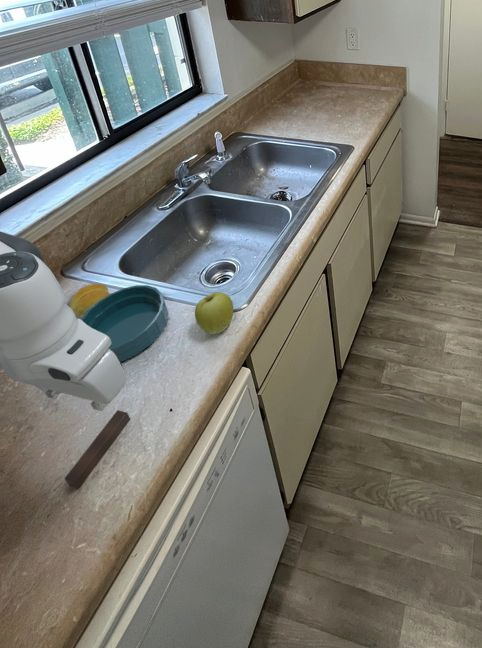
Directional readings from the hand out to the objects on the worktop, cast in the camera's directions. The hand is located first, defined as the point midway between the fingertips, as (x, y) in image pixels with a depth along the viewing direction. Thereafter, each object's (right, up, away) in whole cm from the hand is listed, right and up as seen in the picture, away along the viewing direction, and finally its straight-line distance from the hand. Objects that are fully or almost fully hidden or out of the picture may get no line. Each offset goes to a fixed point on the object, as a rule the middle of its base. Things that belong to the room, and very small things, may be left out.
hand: (78, 399), depth 72 cm
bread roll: (-23, 0, +35) cm, 42 cm away
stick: (0, -14, +6) cm, 15 cm away
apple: (+10, -2, +30) cm, 32 cm away
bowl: (-10, -3, +29) cm, 30 cm away
